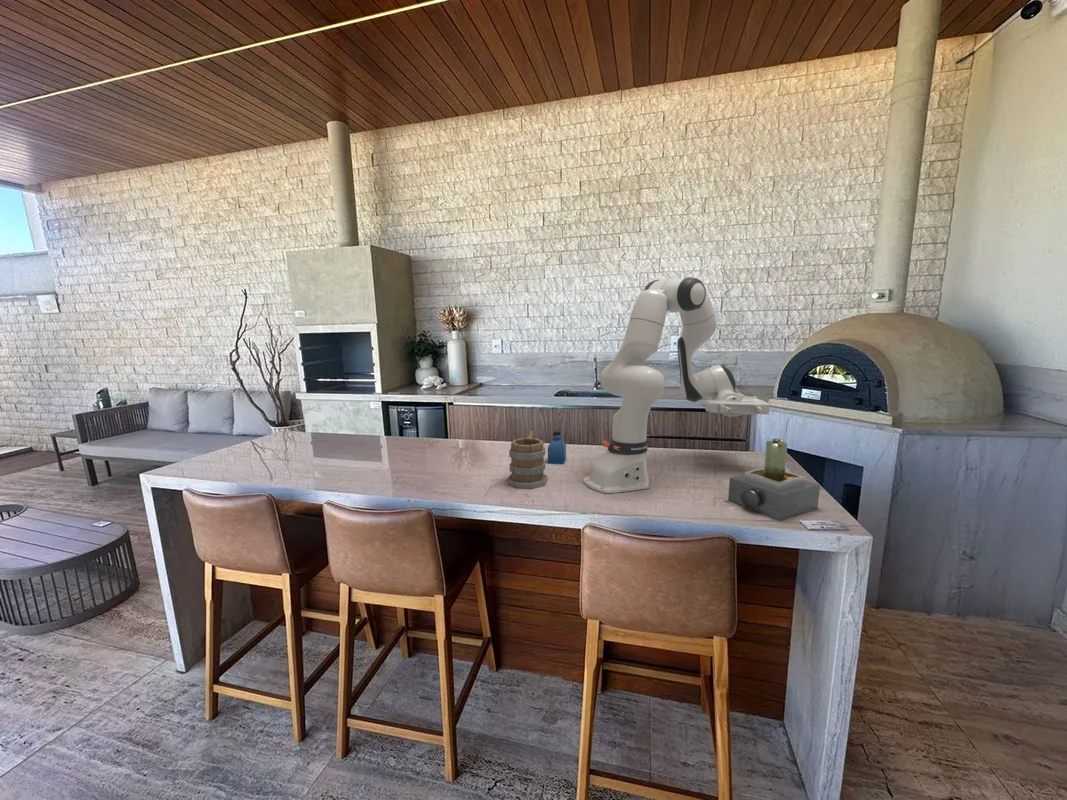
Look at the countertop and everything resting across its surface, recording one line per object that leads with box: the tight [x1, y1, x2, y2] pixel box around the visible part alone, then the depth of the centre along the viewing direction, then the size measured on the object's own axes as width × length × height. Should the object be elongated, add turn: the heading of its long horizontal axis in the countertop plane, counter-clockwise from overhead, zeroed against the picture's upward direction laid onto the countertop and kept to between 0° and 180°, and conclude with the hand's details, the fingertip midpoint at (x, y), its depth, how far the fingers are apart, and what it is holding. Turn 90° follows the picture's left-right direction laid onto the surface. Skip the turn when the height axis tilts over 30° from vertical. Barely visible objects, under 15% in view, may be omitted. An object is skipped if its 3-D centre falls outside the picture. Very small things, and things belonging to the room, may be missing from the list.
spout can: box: [763, 438, 788, 482], centre depth 124 cm, size 6×5×13 cm
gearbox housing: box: [727, 466, 821, 522], centre depth 126 cm, size 19×16×9 cm
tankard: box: [507, 430, 548, 490], centre depth 149 cm, size 20×13×15 cm, turn 170°
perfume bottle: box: [547, 429, 567, 465], centre depth 168 cm, size 6×6×12 cm
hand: (743, 410), depth 143 cm, fingers open, 8 cm apart
